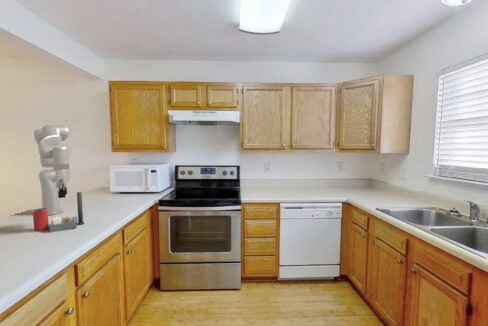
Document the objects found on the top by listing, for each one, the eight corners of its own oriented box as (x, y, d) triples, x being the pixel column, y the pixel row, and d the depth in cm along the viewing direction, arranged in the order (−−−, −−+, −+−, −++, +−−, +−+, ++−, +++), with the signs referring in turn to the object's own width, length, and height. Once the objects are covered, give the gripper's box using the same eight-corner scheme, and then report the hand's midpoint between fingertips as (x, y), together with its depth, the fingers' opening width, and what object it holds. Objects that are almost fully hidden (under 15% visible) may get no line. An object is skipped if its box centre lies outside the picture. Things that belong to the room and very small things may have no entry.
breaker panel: (53, 226, 148) (52, 217, 147) (77, 222, 154) (76, 214, 154) (50, 232, 138) (49, 222, 137) (76, 228, 144) (75, 219, 143)
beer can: (31, 232, 138) (30, 211, 137) (37, 228, 144) (36, 208, 143) (45, 231, 139) (44, 210, 139) (51, 227, 146) (49, 207, 145)
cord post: (77, 223, 152) (75, 192, 151) (84, 222, 154) (82, 191, 153) (77, 225, 149) (75, 193, 148) (84, 224, 151) (82, 192, 150)
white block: (54, 222, 142) (54, 217, 142) (60, 221, 143) (60, 216, 143) (53, 224, 138) (53, 219, 138) (60, 223, 140) (59, 218, 140)
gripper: (55, 166, 148) (56, 194, 150) (51, 168, 134) (52, 199, 135) (70, 166, 152) (71, 193, 154) (67, 168, 138) (69, 198, 139)
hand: (62, 196), depth 144 cm, fingers open, 9 cm apart
